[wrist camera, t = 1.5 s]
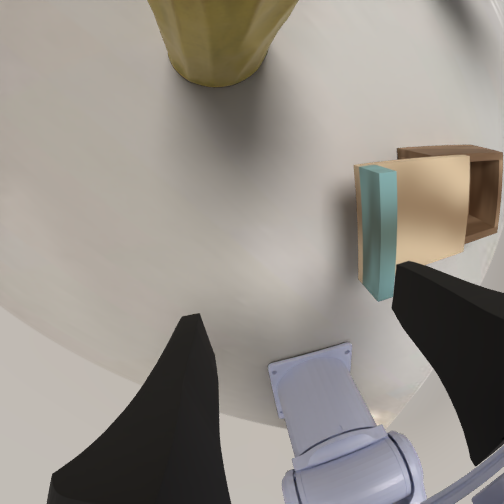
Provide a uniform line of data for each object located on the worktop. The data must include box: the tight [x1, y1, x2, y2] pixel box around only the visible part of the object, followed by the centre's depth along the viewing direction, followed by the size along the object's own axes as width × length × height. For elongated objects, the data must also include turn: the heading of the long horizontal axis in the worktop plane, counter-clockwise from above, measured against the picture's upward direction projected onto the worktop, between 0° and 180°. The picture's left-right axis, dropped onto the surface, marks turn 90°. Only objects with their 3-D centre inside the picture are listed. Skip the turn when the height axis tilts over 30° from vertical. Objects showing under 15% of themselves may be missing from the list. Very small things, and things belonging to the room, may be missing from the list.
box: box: [397, 145, 503, 244], centre depth 18 cm, size 7×9×4 cm
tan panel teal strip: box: [354, 155, 470, 302], centre depth 15 cm, size 7×9×3 cm
